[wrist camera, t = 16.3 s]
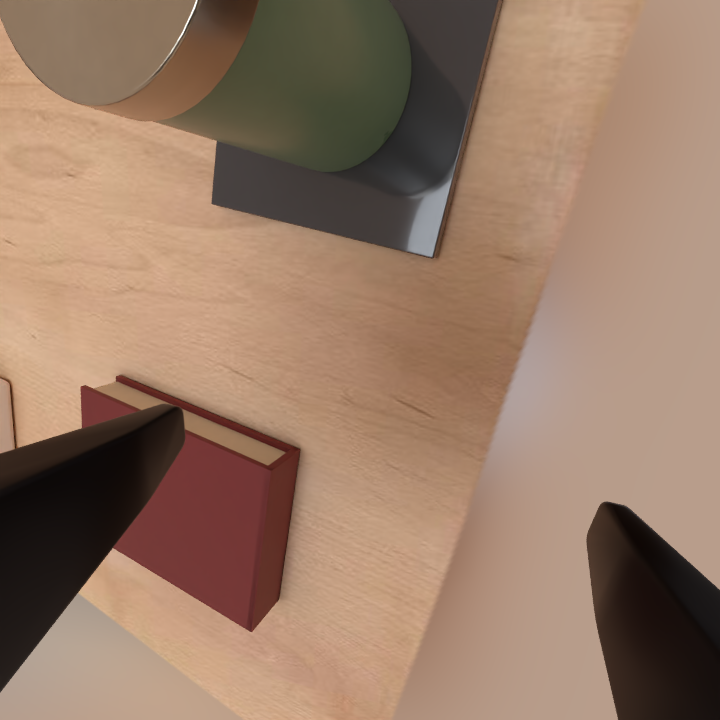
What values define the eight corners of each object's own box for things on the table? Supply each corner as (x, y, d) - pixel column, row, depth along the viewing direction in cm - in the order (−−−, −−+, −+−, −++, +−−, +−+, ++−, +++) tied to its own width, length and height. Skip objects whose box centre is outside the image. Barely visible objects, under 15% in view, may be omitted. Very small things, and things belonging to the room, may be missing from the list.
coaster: (526, -92, 14) (524, -105, 13) (437, 258, 18) (433, 258, 17) (245, -82, 18) (235, -93, 17) (219, 205, 21) (210, 204, 21)
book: (300, 449, 23) (271, 471, 20) (278, 599, 26) (251, 632, 24) (120, 375, 27) (80, 386, 25) (120, 510, 30) (85, 531, 28)
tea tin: (438, 126, 16) (275, -26, 7) (293, 201, 19) (53, 161, 10) (380, -64, 15) (124, -488, 6) (241, 45, 18) (-63, -142, 10)
